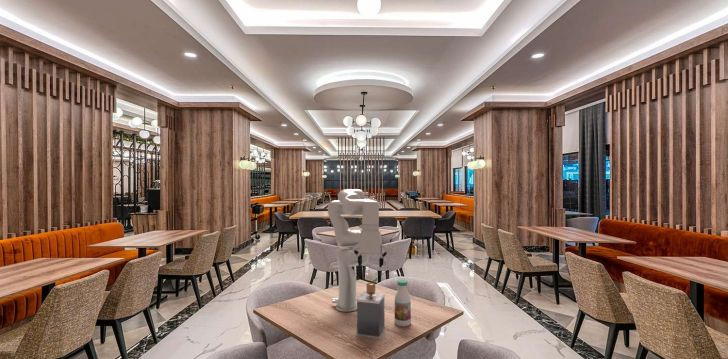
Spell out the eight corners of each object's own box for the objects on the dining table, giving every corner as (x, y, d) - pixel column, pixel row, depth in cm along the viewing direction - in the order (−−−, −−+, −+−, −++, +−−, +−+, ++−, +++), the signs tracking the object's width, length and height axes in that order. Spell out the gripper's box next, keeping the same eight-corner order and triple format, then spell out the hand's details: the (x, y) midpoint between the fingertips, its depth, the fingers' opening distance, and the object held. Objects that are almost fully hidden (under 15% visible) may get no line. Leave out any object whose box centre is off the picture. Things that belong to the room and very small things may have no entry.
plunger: (359, 332, 137) (359, 286, 137) (365, 324, 145) (364, 280, 145) (377, 334, 134) (377, 287, 135) (382, 326, 142) (381, 282, 143)
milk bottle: (393, 320, 152) (392, 279, 153) (408, 319, 153) (408, 278, 153) (396, 327, 144) (395, 283, 145) (412, 326, 145) (412, 283, 145)
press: (356, 336, 136) (356, 299, 136) (365, 323, 148) (364, 289, 149) (379, 339, 133) (379, 301, 133) (386, 326, 145) (386, 291, 146)
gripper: (349, 228, 140) (349, 266, 140) (387, 229, 135) (387, 269, 135) (355, 226, 147) (355, 262, 147) (390, 227, 142) (391, 265, 142)
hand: (370, 265), depth 141 cm, fingers open, 9 cm apart
